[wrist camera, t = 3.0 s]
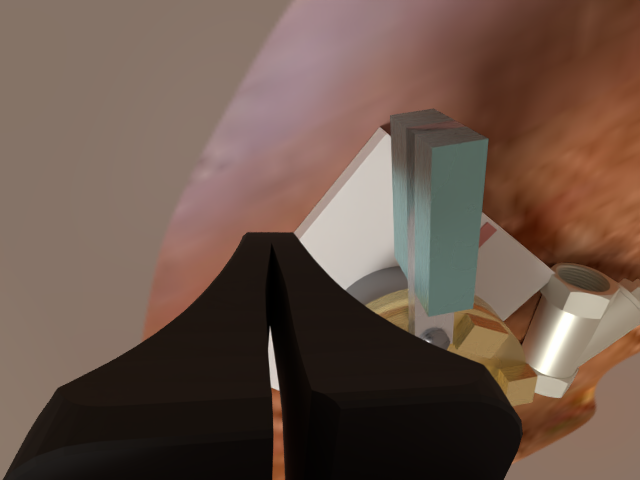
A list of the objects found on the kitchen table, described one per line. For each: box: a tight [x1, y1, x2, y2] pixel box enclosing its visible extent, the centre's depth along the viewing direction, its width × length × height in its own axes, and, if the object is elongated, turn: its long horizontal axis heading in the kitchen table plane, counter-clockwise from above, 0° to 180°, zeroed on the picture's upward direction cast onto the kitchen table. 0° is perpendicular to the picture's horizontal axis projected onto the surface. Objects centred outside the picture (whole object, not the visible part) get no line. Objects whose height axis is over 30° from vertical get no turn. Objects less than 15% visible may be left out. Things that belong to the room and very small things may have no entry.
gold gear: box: [365, 109, 538, 406], centre depth 17 cm, size 18×10×4 cm, turn 7°
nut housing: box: [268, 127, 556, 391], centre depth 23 cm, size 16×14×4 cm
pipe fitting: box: [521, 263, 640, 398], centre depth 26 cm, size 8×4×7 cm
